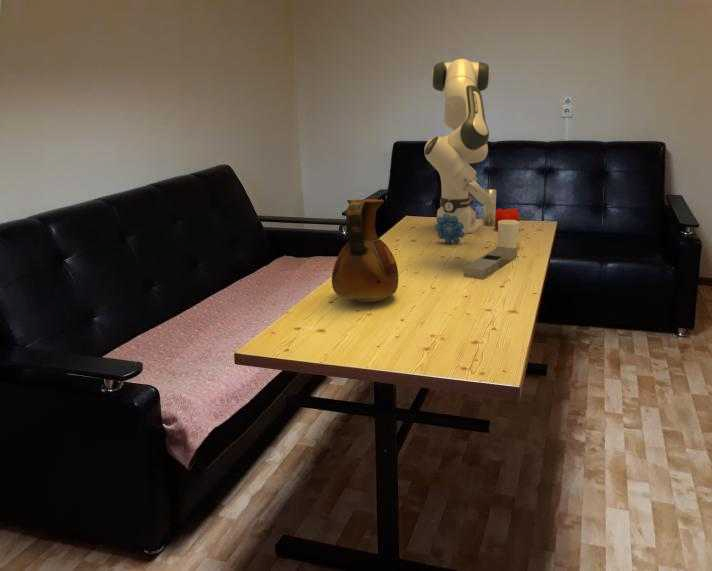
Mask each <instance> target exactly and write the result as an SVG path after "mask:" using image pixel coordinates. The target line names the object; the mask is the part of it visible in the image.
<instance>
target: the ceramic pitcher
mask: <svg viewBox="0 0 712 571" xmlns="http://www.w3.org/2000/svg"><path fill="white" fill-rule="evenodd" d="M346 201H347V204H348V206H347V209H346V213H345V224H346V225H345V226H346V234H347V239H348V240H347V241H348V242H346V244H345V245H344V246H343V247H342V248H341V250H340V252H339V254H338V255H337V258H336V260H335V263H334V265H333V269H332V273H331V285H332V286H331V287H332V290H333V292H334V293H335V294H336V295H338V296H340V297H342V298H345V299H346V298H347V299H350V300H356V301H359V302H367V303H368V302H369V303H376V302H381V301H383V300H385V299H387V298H388V297H391V296H392V295H394V294H396V292H397V290H398V286H399V270H398V264H397V262H396V258H395V256H394V254H393V253H392V251H391V249H390V248H389V247H388V245H387V244H386V243H385V242H384V241H383V240H381V239H380V237H379V236H378V234H377V231H376V217H377V216H376V214H377V211H378V210H379V208H380V206H381V205H382V204H383V203H385V201H384V199H375V198H371V199H370V198H365V199H352V200H351V199H347V200H346Z"/></svg>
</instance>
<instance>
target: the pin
mask: <svg viewBox="0 0 712 571" xmlns="http://www.w3.org/2000/svg"><path fill="white" fill-rule="evenodd" d="M483 190H484V191H485V192H486V193H487V194H488V195H489V196H490V199H489V200H490V201H491V202H492V203H493V204H494V205H495V207H494V208H493V209H492V210H491V209H490V208H489V207H488V206H487V205H485V204H483V215H482V216H483V218H482V225H483V226H484V227H495V213H496V210H497V208H496V207H497V206H496V205H497V189H493V188H491V189H490V188H486V189H483Z"/></svg>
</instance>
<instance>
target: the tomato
mask: <svg viewBox="0 0 712 571" xmlns="http://www.w3.org/2000/svg"><path fill="white" fill-rule="evenodd" d="M519 212H520V211H518V209H516V208H506V209H502V208H496V213H495V226H494V228H495V229H496V230H498V221H501V220H515V221H519V222H520V220H521V218H520V213H519Z"/></svg>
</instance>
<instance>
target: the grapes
mask: <svg viewBox="0 0 712 571" xmlns="http://www.w3.org/2000/svg"><path fill="white" fill-rule="evenodd" d="M436 223H438V224H436ZM436 223H435V224H434V225H433V229H434V228H435V229H434V230H435V232H437V237H438V238H439V239H440V240H443V239H444V242H445V243H446V244H448V245H450V244H451V243H452V242H453V243H454V244H458V243H459V242H460V241H461V240H460V238H461V239H462V238H464V237H465V233H464V232H463V231H462V229H463V228H464V225H463V224H462V223H461V222H458V218H457V216H454V215H453V216H451V217H450V215H449V214H447V213H445V214H444V215H443V218H442V217H437V216H436Z"/></svg>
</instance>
